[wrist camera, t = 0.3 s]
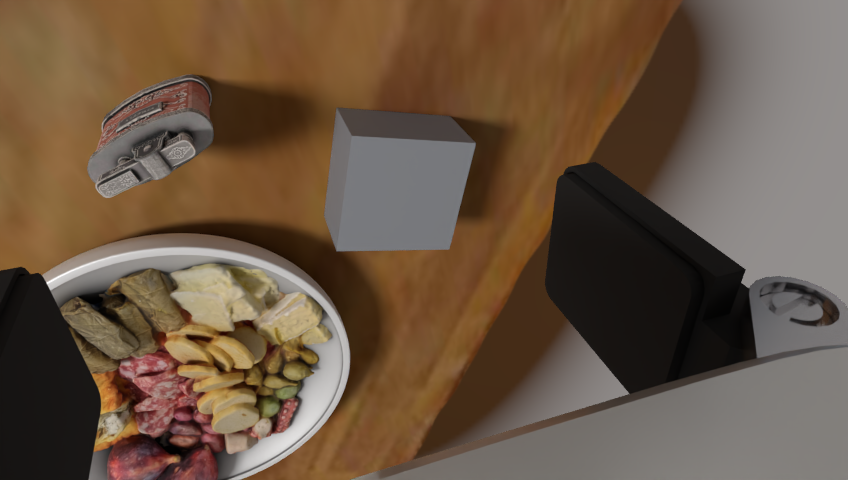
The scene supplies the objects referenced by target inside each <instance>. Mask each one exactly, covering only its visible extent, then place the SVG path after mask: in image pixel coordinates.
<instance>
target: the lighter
mask: <svg viewBox="0 0 848 480" xmlns="http://www.w3.org/2000/svg"><path fill="white" fill-rule="evenodd" d="M211 101H212V97H211V90H210V88H209V86H208V84H207V83H206V82H205V81H204V80H203V79H202V78H200V77H198V76H195V75H184V76H180V77H176V78H173V79H169V80H165V81H163V82H160V83H158V84H155V85H153V86H150V87H148V88H145V89H143V90H141V91H140V92H138V93H136V94H134V95H133V96H131V97H129V98H128V99H126V100H124V101H123V102H122V103H120V104H119V105H118V106H117V107H115V108H114V109H113V110H111V111H110V112H109V113H108V114H107V115H106V116H105V117H104V120H103V123H102V135H101V138H100V141H99V144H98V147H97V150H96V152H94V153H93V155H92V156H91V157H90V159H89V162H88V167H87V170H88V174H89V176H90V178H91V179H92V181H93V182H94V183H95V184H96V189H97V191H98V192H99V193H100V194H101V195H102V196H103V197H106V198H110V197H113V196H115V195H117V194H119V193H121V192H123V191H125V190H127V189H129V188H131V187H134V186H137V185H140V184H144V183H146V182H149V181H151V180H159V179H162V178H164V177H166V176H167V175H169V174H170V173H171V172H172V171H173V170H175V169H177V168H178V167H180V166H182V165H183V164H185V163H187V162H188V161H190V160H191V159H193V158H194V157H195V156H197V155H198V154H199V153H201V152H202V151H203V150H204V149H206V148H207V147H208V146H209V145H210V144H211V143H212V141H213V137H214V131H213V125H212V122H211V120H210V109H209V107H210V105H211Z"/></svg>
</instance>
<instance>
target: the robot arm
mask: <svg viewBox="0 0 848 480" xmlns="http://www.w3.org/2000/svg"><path fill="white" fill-rule="evenodd" d="M744 273H745V269H744V268H743V267H741V266H740V265H739V264H737V263H736V262H735V261H733V260H731V259H730V258H729V257H728V256H726V255H725V254H723V253H722V252H721V251H719V250H718V249H716V248H715V247H714V246H712V245H711V244H710V243H708V242H707V241H705V240H704V239H703V238H701V237H700V236H698V235H697V234H696V233H694V232H693V231H691V230H690V229H689V228H687V227H686V226H684V225H683V224H682V223H680V222H679V221H677V220H676V219H675V218H673V217H672V216H671V215H669V214H668V213H667V212H665V211H664V210H662V209H661V208H660V207H658V206H657V205H655V204H654V203H653V202H651V201H650V200H648V199H647V198H646V197H644V196H643V195H642V194H640V193H639V192H637V191H636V190H635V189H633V188H632V187H630V186H629V185H628V184H626V183H625V182H623V181H622V180H621V179H619V178H618V177H617V176H615V175H614V174H612V173H611V172H610V171H608V170H607V169H605V168H604V167H603V166H601V165H600V164H598V163H596V162H593V163H587V164H581V165H576V166H570V167H568V168H567V169H566V170H565V172H564V174H563V175H561V176H560V177H559V178H558V180H557V185H556V194H555V202H554V211H553V219H552V228H551V236H550V245H549V254H548V262H547V270H546V279H545V286H546V290H547V293H548V295H549V297H550V299H551V300H552V301H553V302H554V303H555V305H556V306H557V307H558V308H559V309H560V311H561V312H562V313H563V314H564V316H565V317H566V318H567V319H568V320H569V321H570V323H571V324H572V325H573V326H574V327H575V329H576V330H577V331H578V332H579V334H580V335H581V336H582V337H583V338H584V339H585V341H586V342H587V343H588V344H589V346H590V347H591V348H592V349H593V350H594V351H595V353H596V354H597V355H598V356H599V358H600V359H601V360H602V361H603V362H604V364H605V365H606V366H607V367H608V368H609V370H610V371H611V372H612V373H613V374H614V376H615V377H616V378H617V379H618V380H619V382H620V383H621V384H622V385H623V386H624V388H625V389H626V390H627V391H628V392H629V394H628V395H625V396H622V397H619V398H615V399H612V400H609V401H606V402H602V403H599V404H595V405H592V406H589V407H586V408H582V409H579V410H575V411H572V412H569V413H565V414H563V415H559V416H556V417H552V418H549V419H546V420H542V421H539V422H536V423H533V424H529V425H526V426H523V427H520V428H516V429H513V430H510V431H506V432H503V433H500V434H497V435H493V436H490V437H487V438H484V439H480V440H477V441H474V442H470V443H467V444H464V445H461V446H457V447H454V448H451V449H448V450H444V451H441V452H438V453H435V454H431V455H428V456H425V457H422V458H419V459H415V460H412V461H409V462H406V463H402V464H399V465H396V466H393V467H389V468H386V469H383V470H380V471H376V472H373V473H370V474H367V475H363V476H360V477H357V478H354V479H350V480H848V308H847V306H846V305H845V304H844V303H843V302H842V301H841V300H840V299H839V298H838V297H837V296H835V295H834V294H832V293H831V292H829V291H827V290H826V289H824V288H822V287H820V286H817V285H815V284H812V283H810V282H807V281H803V280H799V279H796V278H791V277H781V276H775V277H765V278H762V279H759V280H756V281H755V282H754V283H753V284H752V285H751V286H750V288H747V287H746V286H745V285H743V284H742V283H741V281H742V278H743V275H744ZM100 413H101V397H100V392H99V389H98V387H97V385H96V383H95V381H94V378H93V376H92V374H91V372H90V370H89V368H88V366H87V364H86V362H85V360H84V358H83V356H82V354H81V352H80V350H79V348H78V346H77V344H76V342H75V340H74V338H73V336H72V334H71V332H70V330H69V328H68V326H67V324H66V322H65V319H64V317H63V315H62V313H61V311H60V309H59V307H58V305H57V303H56V301H55V299H54V297H53V295H52V293H51V291H50V289H49V287H48V285H47V283H46V281H45V279H44V278H43V276H42V275H41V274H39V273H35V274H30V273H29V272H28V271H27V270H26V269H25V268H22V267H18V268H13V269H7V270H2V271H0V480H89V474H90V469H91V463H92V457H93V452H94V446H95V441H96V435H97V430H98V424H99V418H100Z"/></svg>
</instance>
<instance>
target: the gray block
mask: <svg viewBox="0 0 848 480" xmlns="http://www.w3.org/2000/svg"><path fill="white" fill-rule="evenodd" d="M475 145H476V143H475V142H474V141H473V139H472V138H471V137H470V136H469V135H468V134H467V133H466V132H465V131H464V130H463V129H462V128H461V127H460V126H459V125H458V124H457V123H456V122H455V121H454V120H453V119H452V117H451V116H440V115H427V114H414V113H401V112H387V111H374V110H361V109H348V108H336V117H335V126H334V134H333V143H332V152H331V160H330V169H329V178H328V186H327V195H326V204H325V213H324V216H325V219H326V222H327V225H328V228H329V231H330V234H331V237H332V239H333V242H334V245H335V248H336V251H381V250H439V249H450V245H451V241H452V237H453V233H454V229H455V225H456V221H457V217H458V213H459V209H460V205H461V201H462V197H463V193H464V189H465V185H466V181H467V177H468V173H469V169H470V165H471V161H472V157H473V153H474V149H475Z"/></svg>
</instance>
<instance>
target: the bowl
mask: <svg viewBox="0 0 848 480" xmlns="http://www.w3.org/2000/svg"><path fill="white" fill-rule="evenodd" d="M42 276H43V278H44V279H45V281H46V283H47V285H48V287H49V289H50V291H51V293H52V295H53V297H54V299H55V301H56V303H57V305H58V307H59V309H60V311H61V313H62V315H63V317H64V319H65V322H66V324H67V326H68V328H69V330H70V332H71V334H72V336H73V338H74V340H75V342H76V344H77V346H78V348H79V350H80V352H81V354H82V356H83V358H84V360H85V362H86V364H87V366H88V368H89V370H90V372H91V374H92V376H93V378H94V381H95V383H96V385H97V387H98V389H99V392H100V397H101V413H100V418H99V424H98V430H97V435H96V441H95V446H94V452H93V457H92V463H91V469H90V474H89V480H240V479H243V478H246V477H248V476H250V475H253V474H255V473H257V472H259V471H262V470H264V469H266V468H267V467H269V466H271V465H273V464H275V463H277V462H278V461H280V460H282V459H283V458H285V457H286V456H288V455H289V454H291V453H292V452H294V451H295V450H296V449H298V448H299V447H300V446H302V445H303V444H304V443H305V442H306V441H308V440H309V439H310V438H311V437H312V436H313V435H314V434H315V433H316V432H317V431H318V430H319V429H320V428H321V427H322V425H323V424H324V423H325V422H326V421H327V419H328V418H329V417H330V415H331V414H332V412H333V411H334V409H335V408H336V406H337V404H338V403H339V401H340V399H341V397H342V394H343V392H344V389H345V386H346V383H347V380H348V375H349V369H350V348H349V342H348V337H347V334H346V331H345V327H344V324H343V322H342V319H341V317H340V315H339V313H338V311H337V309H336V307H335V305H334V304H333V302H332V301H331V299H330V298H329V296H328V295H327V294H326V292H325V291H324V290H323V289H322V288H321V287H320V286H319V284H318V283H317V282H316V281H315V280H313V279H312V278H311V277H310V276H309V275H308V274H307V273H305V272H304V271H303V270H302V269H300V268H299V267H297V266H296V265H295V264H293V263H291V262H290V261H288V260H287V259H285V258H283V257H281V256H279V255H277V254H275V253H273V252H271V251H269V250H267V249H264V248H261V247H259V246H256V245H253V244H250V243H247V242H243V241H240V240H236V239H231V238H226V237H221V236H214V235H206V234H193V233H169V234H156V235H147V236H141V237H135V238H129V239H125V240H120V241H116V242H113V243H109V244H106V245H103V246H100V247H97V248H94V249H91V250H89V251H86V252H84V253H81V254H79V255H77V256H75V257H73V258H71V259H69V260H66V261H65V262H63V263H61V264H59V265H57V266H56V267H54V268H52V269H51V270H49V271H48V272H46V273H45V274H43V275H42Z"/></svg>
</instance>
